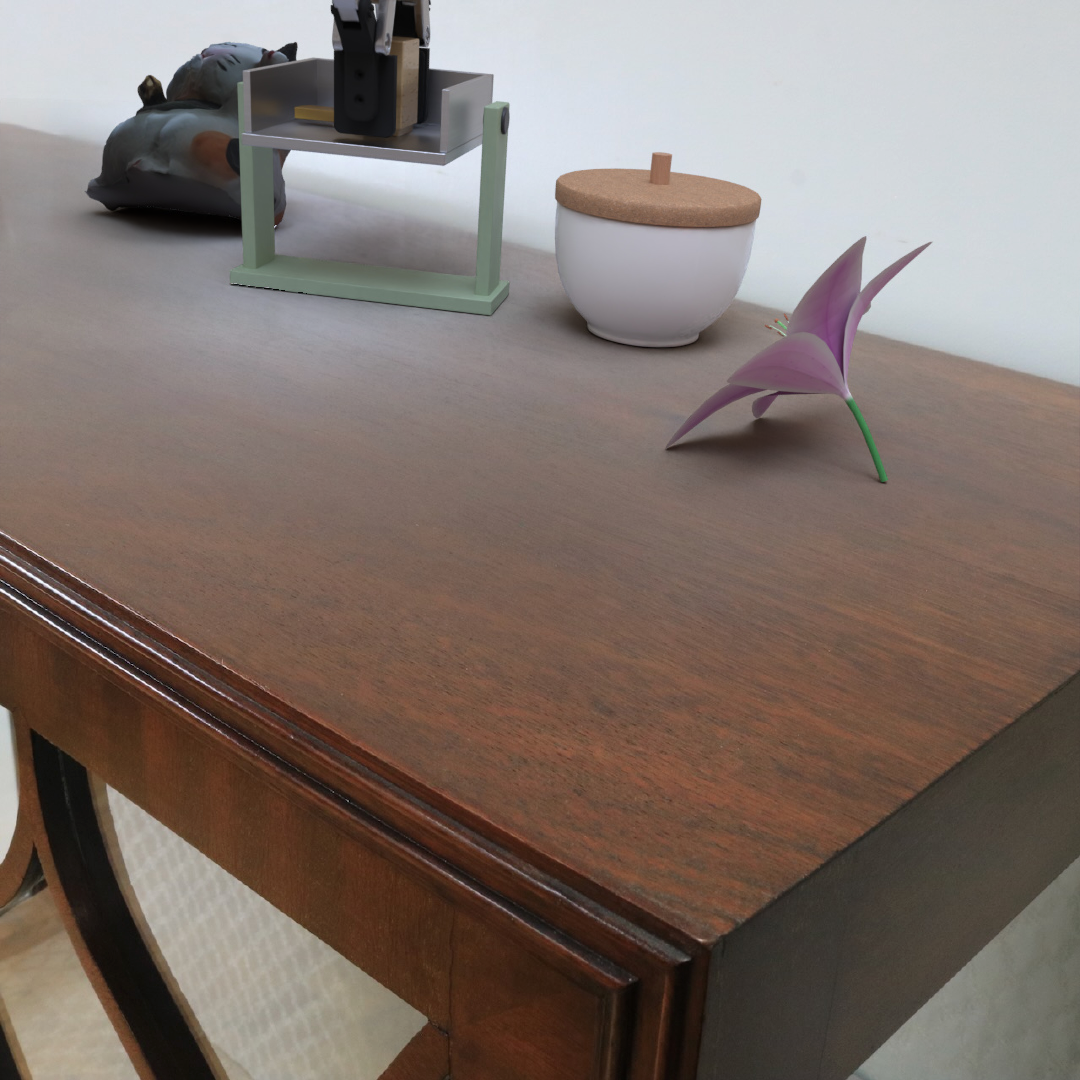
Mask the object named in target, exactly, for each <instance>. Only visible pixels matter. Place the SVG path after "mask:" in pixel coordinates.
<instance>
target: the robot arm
mask: <svg viewBox="0 0 1080 1080" xmlns="http://www.w3.org/2000/svg"><path fill="white" fill-rule="evenodd" d="M430 6H432V1H431V0H331V5H330V14H331V15H333V24H332V34H331V44H332V49H333V59H334V128H335V130H336V131H337V132H339V133H344V134H354V135H364V136H374V137H384V138H388V137H390V136H393V135H394V134H395V132H396V98H397V55H389V53H390V49H391V41H392V36H397V37H408V38H418V39H419V70H418V107H417V123H416V124H421V123H423V122H425V121H426V120H427V118H428V91H429V68H430V54H431V53H430V51H431V48H430V47H429V46H430V43H431V19H430V18H431V17H430V12H431V7H430Z"/></svg>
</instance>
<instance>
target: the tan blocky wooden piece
mask: <svg viewBox="0 0 1080 1080" xmlns="http://www.w3.org/2000/svg"><path fill="white" fill-rule="evenodd" d="M389 55H397V98H396V132H395V134H394V135H393V136H394V137H399V136H402V135H404V134H406V133H408V132H411V131H412V130H413V124H416V123H417V107H418V70H419V39H418V38H408V37H397V36H392V41H391V49H390V53H389ZM294 111H295V118H297V119H307V120H317V121H327V122H334V108H333V107H325V106H315V105H305V106H302V105H301V106H297V107H295V108H294Z"/></svg>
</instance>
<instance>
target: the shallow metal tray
mask: <svg viewBox="0 0 1080 1080" xmlns="http://www.w3.org/2000/svg"><path fill="white" fill-rule="evenodd" d="M296 60H297V59H296ZM494 77H495V75H494V74H493V73H484V72H475V71H473V72H472V71H463V70H451V69H441V68H431V67H429V91H428V118H427V120H426V121H425V122H423V123H421V124H413V130H412V131H411V132H408V133H406V134H404V135H402V136H399V137H394V136H390V137H388V138H384V137H374V136H364V135H354V134H344V133H339V132H337V131H336V130H335V128H334V122H327V121H317V120H307V119H297V118H295V111H294V108H295V107H297V106H301V105H302V106H305V105H315V106H325V107H333V108H334V58H323V57H322V58H321V57H308V58H303V59H298V60H297V61H292V62H286V63H281V64H276V65H270V66H265V67H259V68H254V69H249V70H243V96H244V128H245V133H242V145H247V146H257V147H267V148H276V149H286V150H291V151H297V152H307V153H316V154H325V155H334V156H335V155H336V156H344V157H345V156H346V157H353V158H364V159H374V160H384V161H393V162H402V163H403V162H404V163H412V164H413V163H414V164H421V165H422V164H423V165H431V166H432V165H433V166H440V167H445V166H447V165H448V164H450V163H451V162H454V161H455V160H457V159H458V158H461V157H462V156H464V155H466V154H467V153H469V152H471V151H473V150H475V149H476V148H478V147H479V146H482V138H483V114H484V107H485V106H487V105H489V104H492V103H493V98H494V97H493V95H494Z"/></svg>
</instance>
